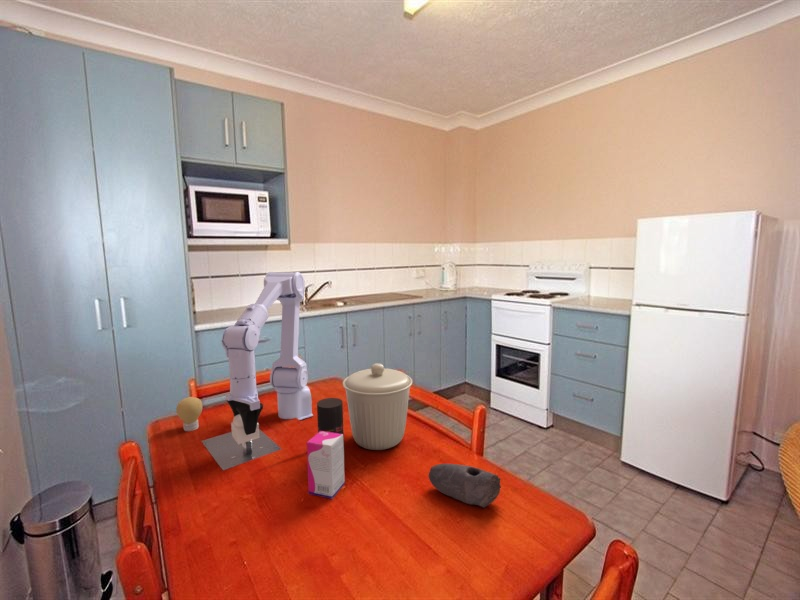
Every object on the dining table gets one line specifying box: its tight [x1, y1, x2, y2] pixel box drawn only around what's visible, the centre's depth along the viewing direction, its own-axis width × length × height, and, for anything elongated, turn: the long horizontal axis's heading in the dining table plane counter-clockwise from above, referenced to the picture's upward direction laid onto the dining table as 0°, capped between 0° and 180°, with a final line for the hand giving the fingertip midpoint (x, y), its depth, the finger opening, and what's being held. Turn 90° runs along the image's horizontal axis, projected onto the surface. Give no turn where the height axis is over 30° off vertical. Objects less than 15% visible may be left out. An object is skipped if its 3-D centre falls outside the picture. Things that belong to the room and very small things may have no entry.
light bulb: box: [175, 396, 204, 432], centre depth 108 cm, size 6×6×10 cm
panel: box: [200, 428, 282, 471], centre depth 98 cm, size 14×18×4 cm
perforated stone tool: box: [428, 463, 502, 509], centre depth 79 cm, size 15×5×7 cm, turn 57°
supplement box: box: [306, 431, 346, 500], centre depth 82 cm, size 6×6×12 cm
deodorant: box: [316, 397, 345, 445], centre depth 91 cm, size 6×6×15 cm
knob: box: [230, 414, 260, 444], centre depth 94 cm, size 5×5×5 cm
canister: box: [342, 362, 413, 451], centre depth 101 cm, size 18×18×21 cm
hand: (246, 429), depth 94 cm, fingers closed on knob, 5 cm apart
